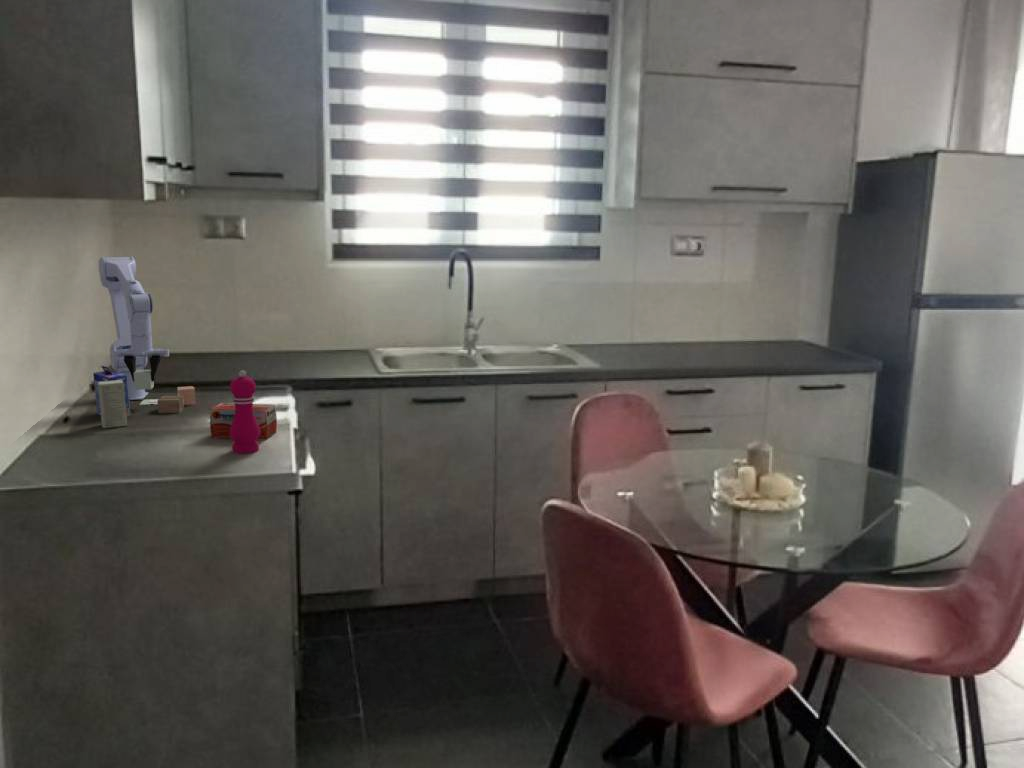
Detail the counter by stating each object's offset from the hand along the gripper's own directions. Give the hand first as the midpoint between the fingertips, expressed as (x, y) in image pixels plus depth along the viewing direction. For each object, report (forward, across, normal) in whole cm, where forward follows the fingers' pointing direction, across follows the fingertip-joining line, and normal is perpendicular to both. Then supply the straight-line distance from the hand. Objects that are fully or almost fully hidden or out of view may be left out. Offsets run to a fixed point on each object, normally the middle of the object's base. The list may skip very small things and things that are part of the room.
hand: (144, 380), depth 256 cm
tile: (+8, +1, +7) cm, 11 cm away
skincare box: (+8, -4, -22) cm, 24 cm away
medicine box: (+8, +31, -38) cm, 50 cm away
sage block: (+2, 0, 0) cm, 2 cm away
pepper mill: (+8, +33, -53) cm, 63 cm away
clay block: (+8, +11, +4) cm, 14 cm away
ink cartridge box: (+8, -7, -9) cm, 14 cm away
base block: (+8, +8, -5) cm, 13 cm away
